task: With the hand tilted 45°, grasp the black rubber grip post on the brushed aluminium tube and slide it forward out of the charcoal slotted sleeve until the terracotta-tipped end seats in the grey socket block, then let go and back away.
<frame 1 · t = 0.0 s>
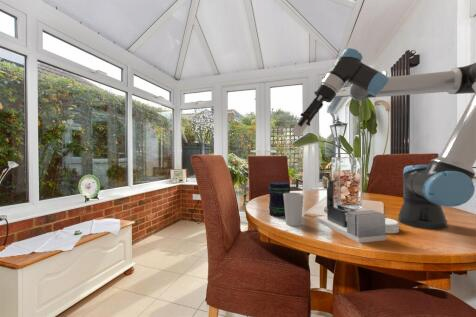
hand: (295, 134, 91), 36 cm above the table, tool tilted 35°, fingers open, 13 cm apart
base board: (337, 225, 90), on the table
slip tube: (339, 200, 89), point 10 cm above the table, slide at 0.0 cm
sleeve and socket: (350, 217, 83), on the base board, point 5 cm above the table
storage jar: (279, 214, 107), on the table
cup: (293, 224, 93), on the table
coaster: (382, 230, 85), on the table
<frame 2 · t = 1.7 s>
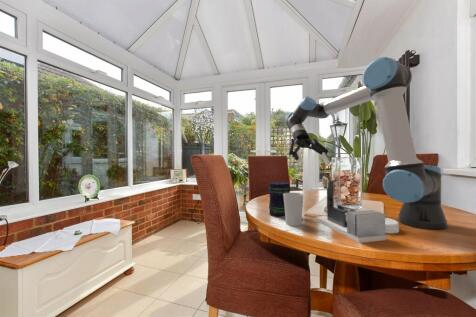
hand: (315, 164, 106), 23 cm above the table, tool tilted 45°, fingers open, 13 cm apart
nothing on the table moved.
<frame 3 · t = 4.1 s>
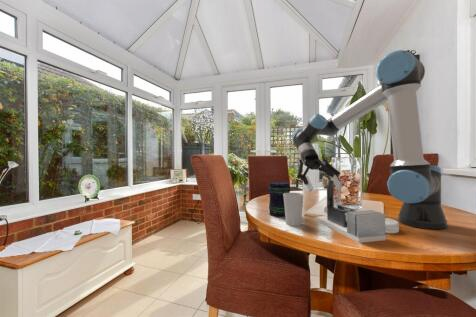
hand: (326, 189, 97), 13 cm above the table, tool tilted 45°, fingers open, 13 cm apart
nothing on the table moved.
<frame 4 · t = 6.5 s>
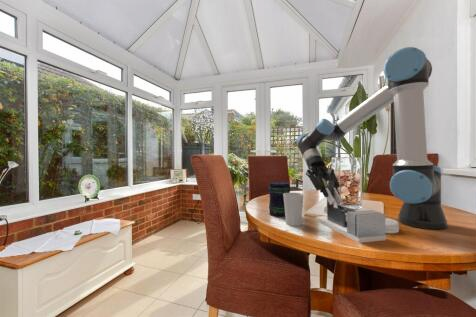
hand: (336, 202, 91), 9 cm above the table, tool tilted 45°, fingers closed on slip tube, 3 cm apart
slip tube: (339, 200, 89), point 10 cm above the table, slide at 0.0 cm, touching gripper
everything else where it was.
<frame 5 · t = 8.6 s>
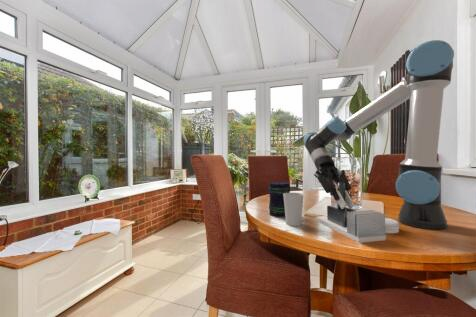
hand: (348, 206, 84), 9 cm above the table, tool tilted 45°, fingers closed on slip tube, 3 cm apart
slip tube: (352, 204, 82), point 10 cm above the table, slide at 7.1 cm, touching gripper
everything else where it was.
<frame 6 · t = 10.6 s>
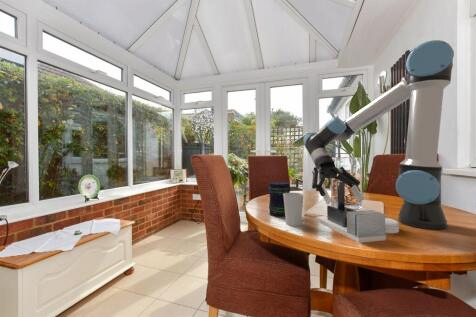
hand: (345, 201, 85), 10 cm above the table, tool tilted 45°, fingers open, 13 cm apart
slip tube: (351, 204, 82), point 10 cm above the table, slide at 7.0 cm
everything else where it was.
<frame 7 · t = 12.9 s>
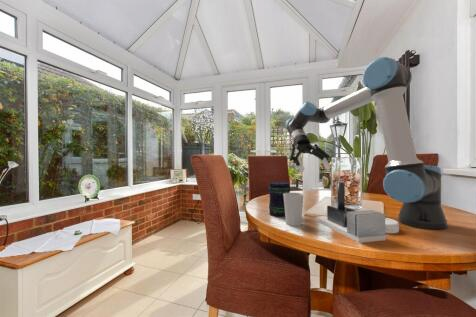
hand: (316, 170, 105), 21 cm above the table, tool tilted 45°, fingers open, 13 cm apart
nothing on the table moved.
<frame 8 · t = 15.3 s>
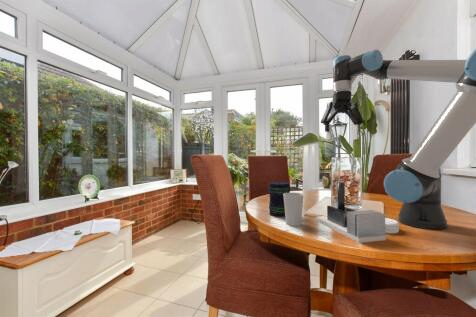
hand: (342, 139, 103), 35 cm above the table, tool pointing down, fingers open, 13 cm apart
nothing on the table moved.
at the end: slip tube slide at 7.0 cm; the gripper is holding nothing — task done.
